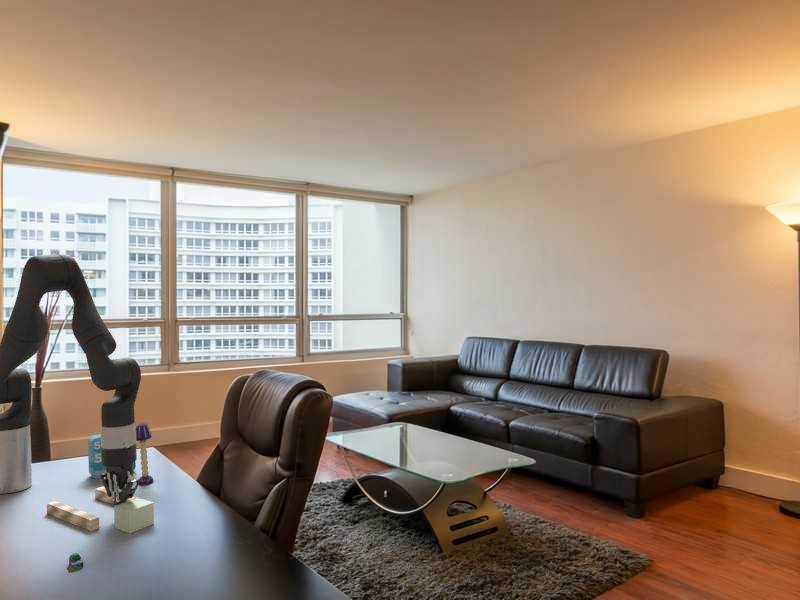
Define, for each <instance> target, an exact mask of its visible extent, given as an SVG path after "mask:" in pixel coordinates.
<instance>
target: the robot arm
mask: <svg viewBox="0 0 800 600" xmlns="http://www.w3.org/2000/svg"><path fill="white" fill-rule="evenodd" d="M64 291H66V292H67V293H68V295H69V296H70V298H71V299H72V301H73V311H72V318H71V329H72V333H73V336H74V338H75V340H76V341H77V342H78V344H79V347H80V348H81V350H82V351H83V353H84V354H85V359H86V361H87V365H88V366H87V367H88V370H89V375H90V378H91V381H92V383H93V384H94V386H96V387H97V388H98V389H99V390H101V391H105V392H108V391H114V390H115V391H114V393H113V396H112V397H111V398H109V399H107V400H105V401H104V402H103V403H102V404H101V410H100V412H101V413H100V416H101V431H100V434H101V464H102V465H103V466H105V467H106V473H104V474H101V476H100V477H101V478H100V480H101V482H102V485H103V487H105V489H106V492H107V494H108V496H109V497H112V500H113V501H114V504H113V507H114V506H116V505H119V504H122V503H125V502H126V501H127V499H130V498H132V497H133V496H135V492H137V490H138V488H139V483H140V481H139V478H138V479H135V477H134V476H133V475H134V470H132V464H133V463H134V462H135V461H137V459H138V457H137V441H136V425H135V404H136V400H137V396H138V391H139V389H140V388H139V387H140V384H141V380H142V372H141V371H142V370H141V367H140V365H139V363H138V362H137V361H136V359H134V358H132V357H121V358H115V359H111V358H110V357H109V356H110V355H112V354H113V353H114V352H115V351H116V349H117V342H116V339H115V338H114V337H113V335H112V334H111V331H110V330H109V328H108V327H107V326H106V324H105V322H104V321H103V319H102V317H101V315H100V313H99V311H98V309H97V306H96V303H95V302H94V299H93V296H92V294H91V291H90V289H89V287H88V283H87V281H86V279H85V276H84V274H83V272H82V269H81V267H80V265H79V263H78V262H77V261H76V260H75V258H74V257H73V256H72V255H70V254H65V253H60V254H59V253H55V254H53V253H52V254H40V255H39V254H38V255H34V256H31V257H30V258H28V259H27V261H26V263H25V265H24V266H23V270H22V273H21V278H20V282H19V286H18V291H17V296H16V299H15V302H14V305H13V308H12V311H11V314H10V316H9V319H8V321H7V323H6V326H5V328H4V331H3V333H2V336H1V337H2V338H1V340H0V405H4V404H11V405H10V407H8V409H5V411H3V412H2V413H0V495H2V494H3V495H4V494H12V493H16V492H20V491H24V490H26V489H29V488H30V487H31V486H32V485H33V483H32V482H33V480H32V476H33V475H32V474H33V473H32V468H33V467H32V440H31V439H32V437H31V416H32V415H31V414H32V389H33V388H32V385H33V384H32V377H31V375H30V373H29V371H28V369H26V368H19V367H20V366H21V365H23V364H24V363H25V362H27V361H28V360H29V359H31V358H32V357H33V356H34V355H36V354H37V353H38V352H39V351H40V350H41V348H42V347H43V345H44V342H45V340H46V338H47V335H48V332H49V329H50V327H49V326H50V325H49V321H48V319H47V316H46V315H45V313H44V312H43V310H42V308H41V306H40V304H41V301H42V299H43V297H44V295H45V294H47V293H55V292H64Z"/></svg>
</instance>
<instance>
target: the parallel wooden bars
mask: <svg viewBox="0 0 800 600" xmlns="http://www.w3.org/2000/svg"><path fill="white" fill-rule="evenodd" d="M94 495H95V496H94V497H95V499H97V500H100V501H102V502H105V503H108V504H112V505H114V501H113V500H112V497H109V496H108V494H107V492H106V489H105V487H104V486H100V487H96V488H94ZM137 498H138V497H137V496H135V495H133V497H132V498H130V499H127V501H126V502H128V501H131V500H134V499H137ZM143 500H145V499H143ZM46 514H47V515H49V516H52V517H55V518H57V519H59V520H63V521H65V522H67V523H70V524H72V525H74V526H77V527H80V528H83V529H85V530H88V531H90V532H92V531H95V530H97V529H100V517H99V516H97V515H95V514H92V513H89V512H86V511H84V510H82V509H78V508H75V507H72V506H70V505H68V504H65V503H62V502H59V501H57V500H53V501H50V502H47V503H46Z"/></svg>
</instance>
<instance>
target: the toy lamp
mask: <svg viewBox="0 0 800 600" xmlns="http://www.w3.org/2000/svg"><path fill="white" fill-rule="evenodd" d="M135 429H136V442H139V444H140V445H139V449H140V454H139V455H140V465H141V469H140V470H141V476H140V477H139V478H138V479H139V481H140V483H139V485H140V486H145V485H151V484H153V483H154V477H153V476H151V475H150V474H149V466H148V450H147V448H148V446H147V440H150V439H151V438H152V437H153V436H152V433H151V430H150V427H149V425H148V424H147V423H140V424H137V425H135ZM139 485H138V486H139Z"/></svg>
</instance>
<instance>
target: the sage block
mask: <svg viewBox="0 0 800 600" xmlns="http://www.w3.org/2000/svg"><path fill="white" fill-rule="evenodd" d="M154 509H155V508H154V502H153V501H150V500H147V499H144V500H143V499H142V498H141V497H137V499H134V500H131V501H128V502H125V503H122V504H119V505H116V506H114V505H113V511H114V512H113V513H114V515H113V517H114V528H115V529H117V530H118V531H119V530H120V531H122V532H125V533H128V534H133V533H134V532H136V531H139V530H142V529H145V528H148V527H149V526H152V525H155V514H154V513H155V512H154V511H155V510H154Z"/></svg>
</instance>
